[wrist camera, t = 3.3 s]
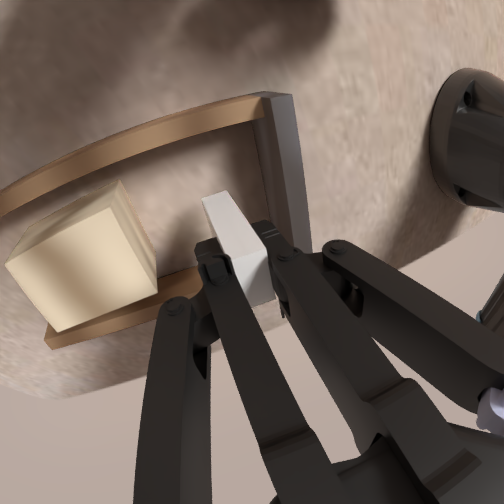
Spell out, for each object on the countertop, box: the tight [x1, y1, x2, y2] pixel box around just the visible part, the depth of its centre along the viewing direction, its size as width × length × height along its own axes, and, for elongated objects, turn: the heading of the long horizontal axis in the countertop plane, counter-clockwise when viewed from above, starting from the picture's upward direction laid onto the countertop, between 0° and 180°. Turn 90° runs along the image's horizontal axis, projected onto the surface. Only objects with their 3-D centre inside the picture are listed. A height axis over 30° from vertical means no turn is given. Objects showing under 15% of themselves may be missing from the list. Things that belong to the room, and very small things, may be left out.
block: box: [5, 179, 158, 332], centre depth 17 cm, size 8×6×5 cm
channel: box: [0, 91, 313, 350], centre depth 18 cm, size 21×12×4 cm, turn 101°
